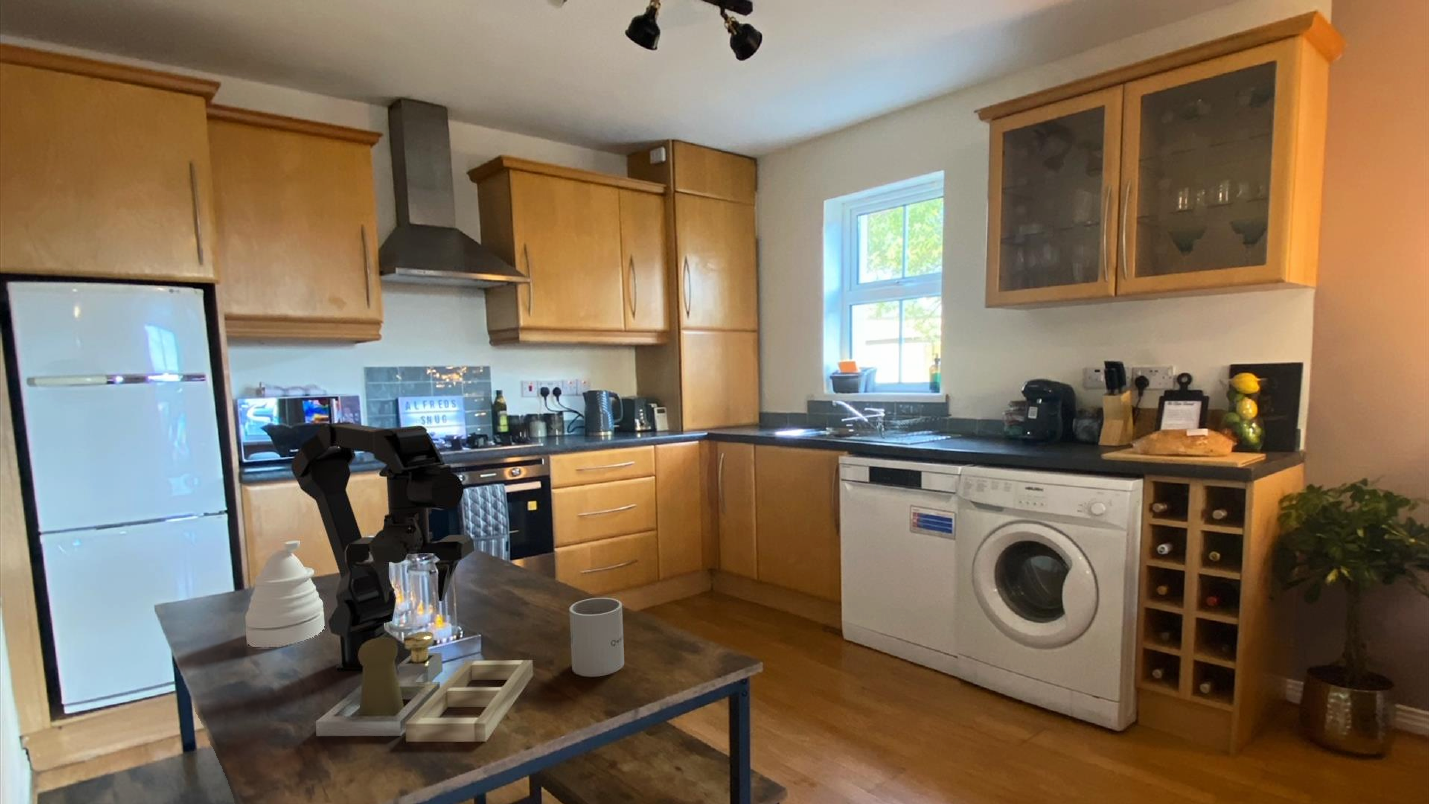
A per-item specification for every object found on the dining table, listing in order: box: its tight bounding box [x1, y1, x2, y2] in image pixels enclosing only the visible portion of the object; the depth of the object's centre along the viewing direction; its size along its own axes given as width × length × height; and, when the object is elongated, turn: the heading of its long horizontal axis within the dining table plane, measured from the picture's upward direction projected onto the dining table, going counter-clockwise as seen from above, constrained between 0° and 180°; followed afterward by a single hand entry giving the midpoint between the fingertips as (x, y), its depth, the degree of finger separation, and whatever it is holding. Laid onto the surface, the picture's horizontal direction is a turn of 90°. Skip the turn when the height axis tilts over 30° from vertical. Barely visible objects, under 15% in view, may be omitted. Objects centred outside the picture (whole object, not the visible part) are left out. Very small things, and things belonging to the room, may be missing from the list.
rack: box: [405, 659, 534, 743], centre depth 104 cm, size 11×20×2 cm, turn 177°
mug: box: [569, 597, 625, 678], centre depth 118 cm, size 12×9×10 cm
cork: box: [358, 637, 405, 716], centre depth 102 cm, size 6×6×11 cm
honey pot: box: [244, 540, 325, 649], centre depth 134 cm, size 13×13×18 cm
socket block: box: [315, 652, 444, 737], centre depth 106 cm, size 12×20×3 cm, turn 177°
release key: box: [403, 631, 434, 664], centre depth 114 cm, size 4×4×6 cm
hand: (413, 601), depth 112 cm, fingers open, 9 cm apart
